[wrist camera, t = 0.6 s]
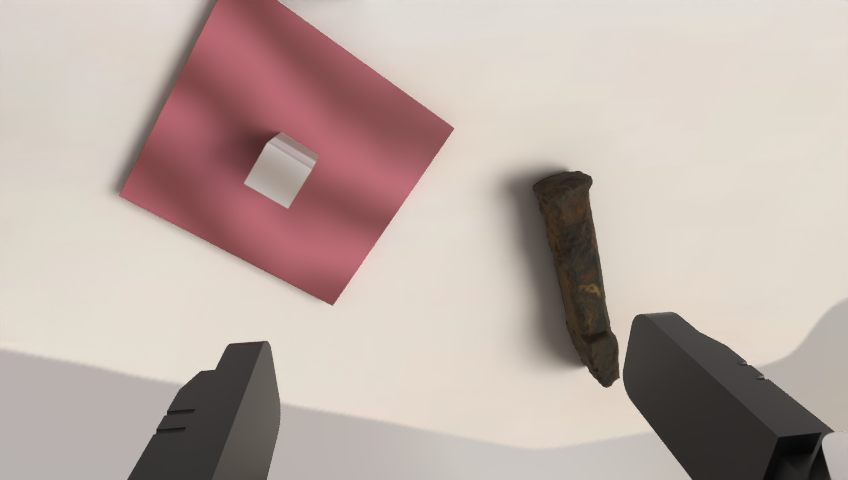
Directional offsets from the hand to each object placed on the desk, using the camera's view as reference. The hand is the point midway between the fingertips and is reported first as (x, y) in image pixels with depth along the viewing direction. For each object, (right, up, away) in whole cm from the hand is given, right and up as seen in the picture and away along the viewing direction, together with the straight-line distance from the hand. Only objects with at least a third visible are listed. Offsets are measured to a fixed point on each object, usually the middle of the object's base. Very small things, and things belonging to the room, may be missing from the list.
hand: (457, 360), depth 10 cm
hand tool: (+12, 0, +28) cm, 30 cm away
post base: (-10, +8, +21) cm, 24 cm away
